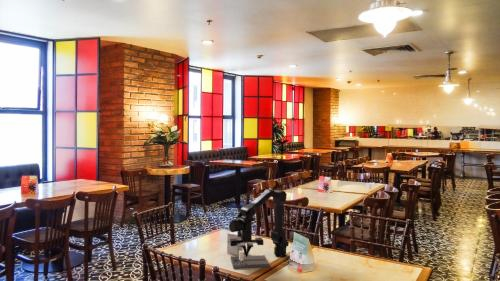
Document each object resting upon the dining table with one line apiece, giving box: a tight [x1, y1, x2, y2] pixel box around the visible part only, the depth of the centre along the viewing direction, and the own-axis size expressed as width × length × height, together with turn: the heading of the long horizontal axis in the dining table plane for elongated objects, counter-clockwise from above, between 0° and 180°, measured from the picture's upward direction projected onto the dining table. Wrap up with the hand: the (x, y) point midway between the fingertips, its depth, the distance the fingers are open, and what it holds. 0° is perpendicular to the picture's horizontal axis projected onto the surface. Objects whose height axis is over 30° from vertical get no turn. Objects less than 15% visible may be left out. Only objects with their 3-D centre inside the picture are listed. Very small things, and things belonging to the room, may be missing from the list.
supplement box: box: [226, 231, 244, 256], centre depth 237 cm, size 7×7×13 cm
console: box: [230, 254, 270, 270], centre depth 220 cm, size 20×14×2 cm
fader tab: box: [238, 250, 245, 261], centre depth 219 cm, size 2×4×5 cm, turn 9°
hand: (246, 256), depth 219 cm, fingers closed
